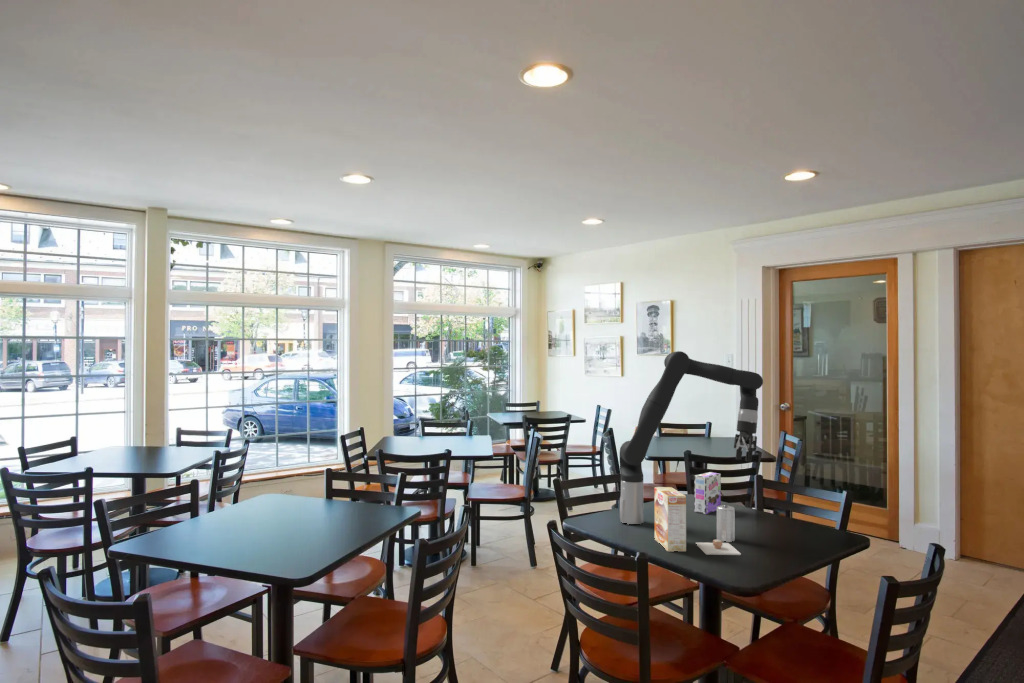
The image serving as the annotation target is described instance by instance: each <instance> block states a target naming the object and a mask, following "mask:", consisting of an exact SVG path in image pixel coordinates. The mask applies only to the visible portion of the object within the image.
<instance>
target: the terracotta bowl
mask: <svg viewBox="0 0 1024 683" xmlns="http://www.w3.org/2000/svg"><path fill="white" fill-rule="evenodd" d="M712 543H713V545H714V548H716V549H721V546H722V543H723V541H722V540H718V539H717V538H716V539H713V540H712Z"/></svg>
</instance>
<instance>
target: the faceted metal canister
mask: <svg viewBox="0 0 1024 683" xmlns="http://www.w3.org/2000/svg"><path fill="white" fill-rule="evenodd" d="M735 510H736V509H735V507H734V506H732V505H728V504H721V505H719V506H717V511H716V539H717V540H722V542H724V541H726V542H725V543H732V541H733V542H735V539H736V538H735V536H736V533H735V532H736V530H735V526H736V525H735V522H736V520H735V518H736V516H735Z"/></svg>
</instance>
